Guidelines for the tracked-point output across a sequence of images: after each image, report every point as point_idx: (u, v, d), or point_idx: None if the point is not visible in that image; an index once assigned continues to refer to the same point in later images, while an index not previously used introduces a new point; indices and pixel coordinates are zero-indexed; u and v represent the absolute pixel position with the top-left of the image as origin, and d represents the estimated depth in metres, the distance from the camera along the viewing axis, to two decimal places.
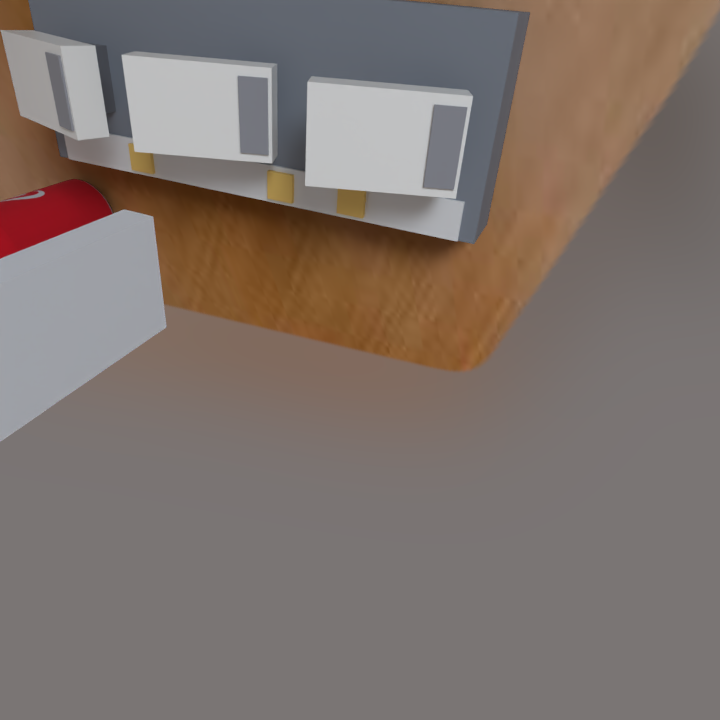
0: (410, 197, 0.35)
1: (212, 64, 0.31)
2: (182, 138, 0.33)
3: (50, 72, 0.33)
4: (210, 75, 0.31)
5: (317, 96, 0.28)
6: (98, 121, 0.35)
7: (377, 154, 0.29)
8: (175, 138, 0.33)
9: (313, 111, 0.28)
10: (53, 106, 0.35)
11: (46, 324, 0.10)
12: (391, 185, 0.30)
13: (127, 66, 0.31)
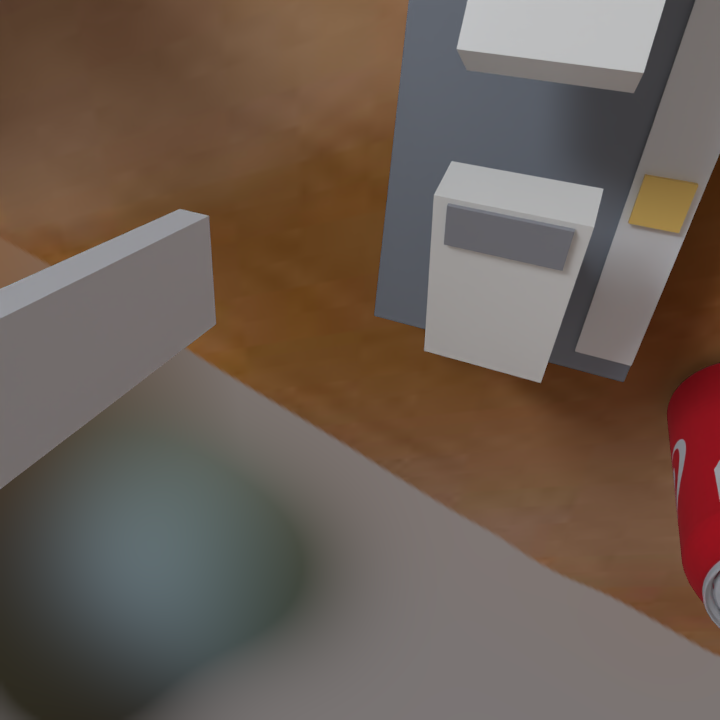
0: None
1: None
2: None
3: (473, 245, 0.19)
4: None
5: None
6: (570, 192, 0.18)
7: None
8: None
9: None
10: (529, 276, 0.19)
11: (115, 320, 0.11)
12: None
13: (477, 42, 0.16)
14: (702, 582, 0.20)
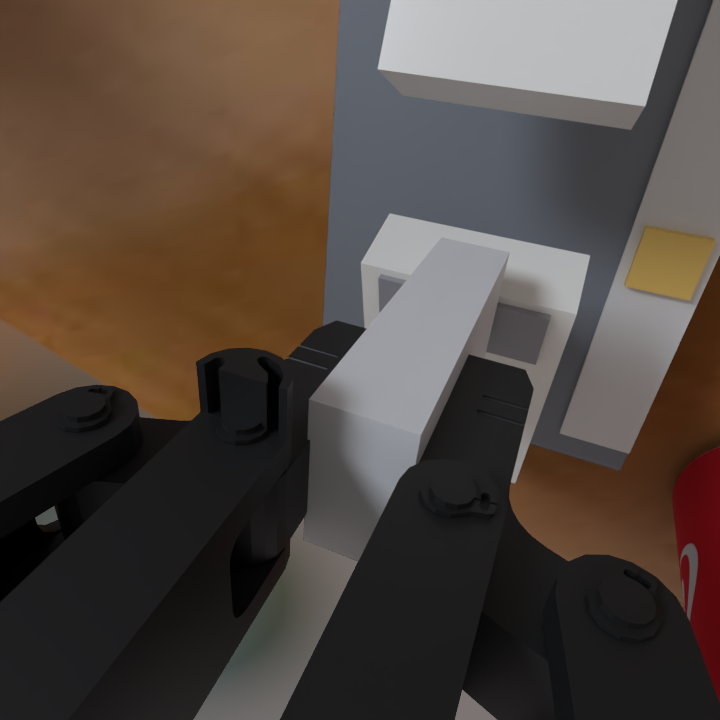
0: None
1: None
2: None
3: None
4: None
5: None
6: (545, 261, 0.13)
7: None
8: None
9: None
10: None
11: None
12: None
13: (406, 60, 0.11)
14: None
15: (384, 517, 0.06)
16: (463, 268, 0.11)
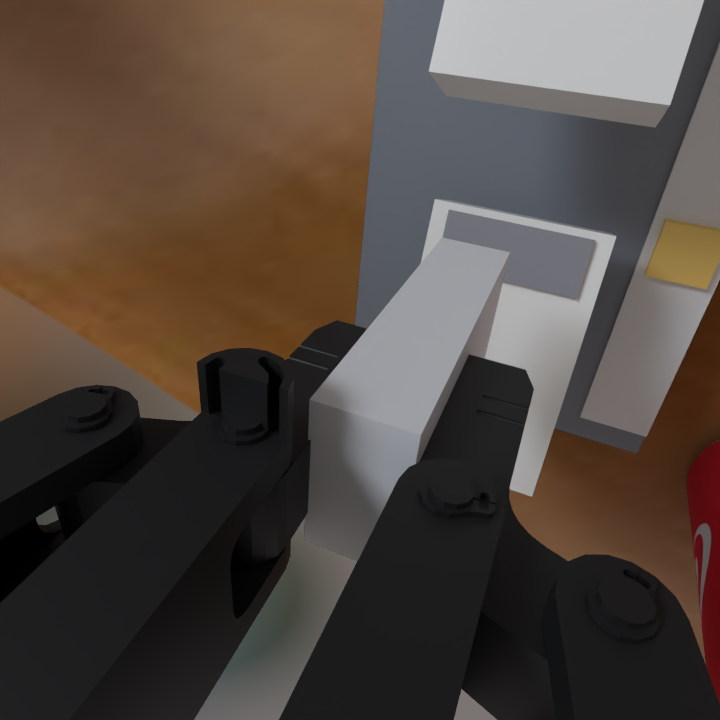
0: None
1: None
2: None
3: None
4: None
5: None
6: (580, 227, 0.17)
7: None
8: None
9: None
10: (533, 312, 0.16)
11: None
12: None
13: (455, 63, 0.13)
14: None
15: (383, 517, 0.06)
16: (463, 268, 0.11)
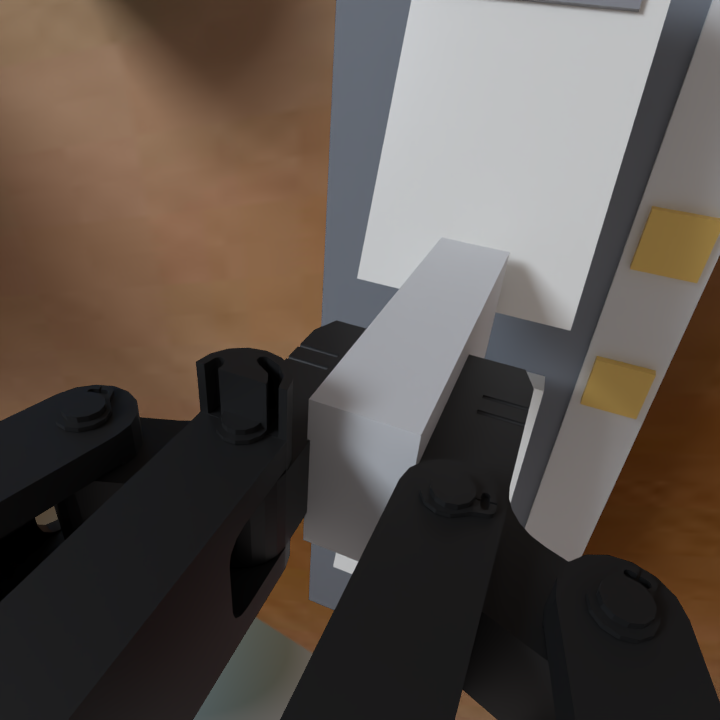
0: (694, 94, 0.14)
1: None
2: None
3: None
4: None
5: (385, 263, 0.13)
6: None
7: (527, 140, 0.12)
8: None
9: None
10: None
11: None
12: (616, 105, 0.11)
13: (349, 566, 0.20)
14: None
15: (384, 517, 0.06)
16: (463, 268, 0.11)
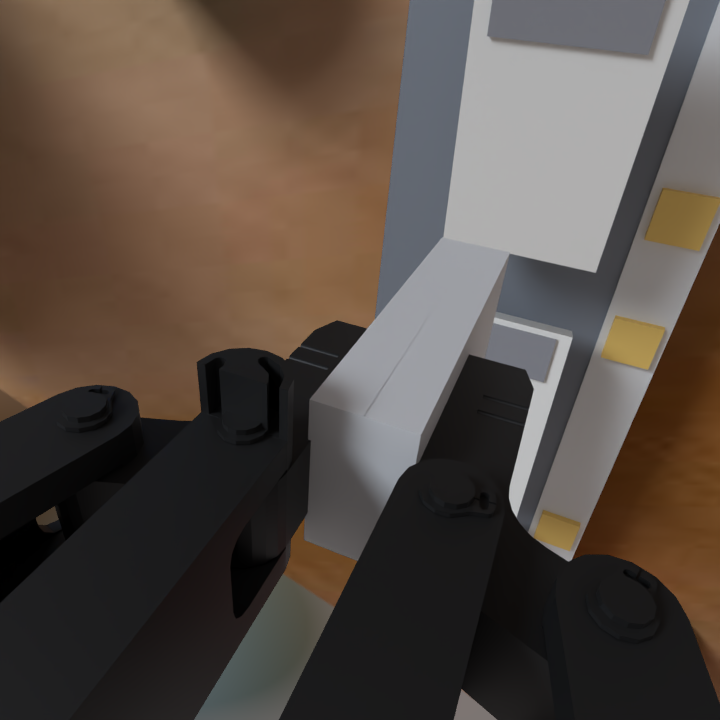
0: (696, 97, 0.18)
1: None
2: None
3: None
4: None
5: (462, 229, 0.19)
6: None
7: (562, 147, 0.16)
8: None
9: (482, 238, 0.19)
10: None
11: None
12: (630, 123, 0.15)
13: None
14: None
15: (383, 517, 0.06)
16: (463, 268, 0.11)
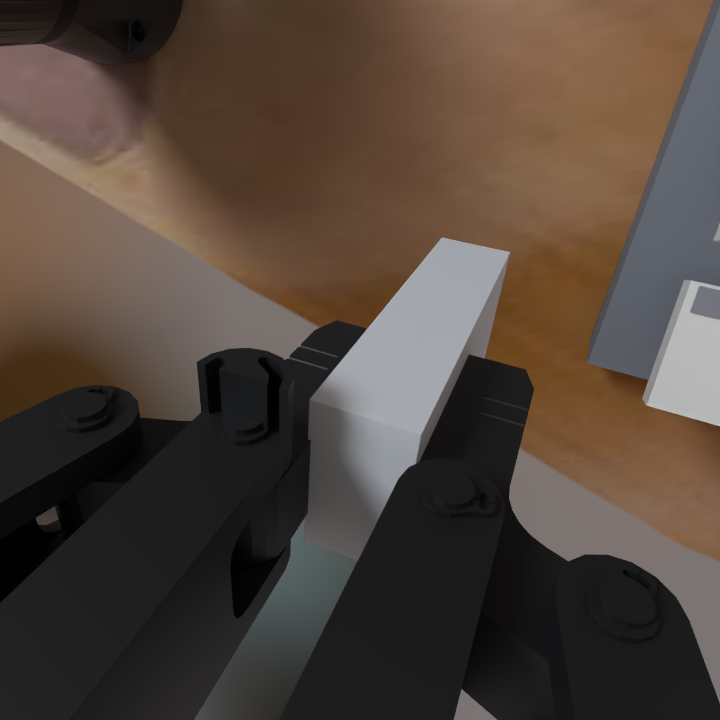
0: None
1: None
2: None
3: (710, 312, 0.34)
4: None
5: None
6: None
7: None
8: None
9: None
10: None
11: None
12: None
13: None
14: None
15: (383, 517, 0.06)
16: (464, 268, 0.11)
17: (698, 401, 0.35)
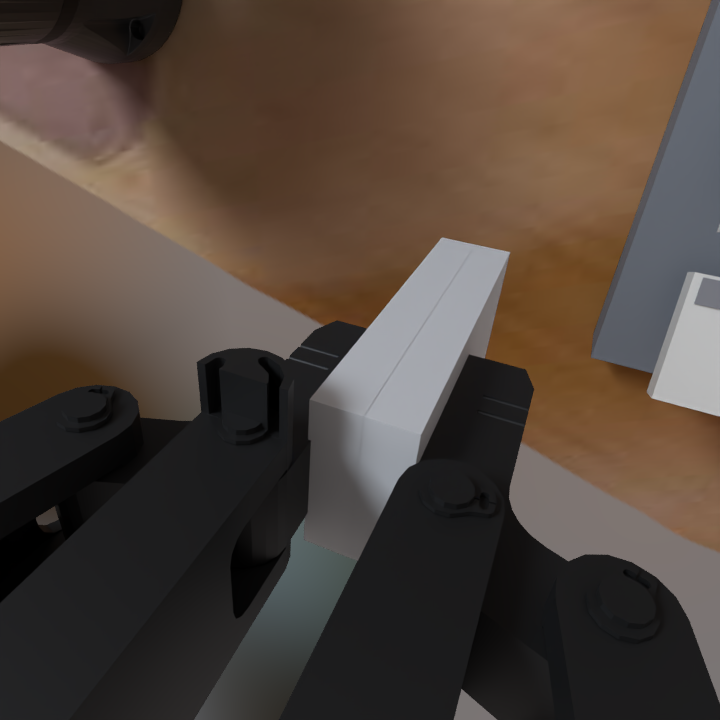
0: None
1: None
2: None
3: (714, 304, 0.34)
4: None
5: None
6: None
7: None
8: None
9: None
10: None
11: None
12: None
13: None
14: None
15: (383, 517, 0.06)
16: (463, 268, 0.11)
17: (703, 393, 0.35)
